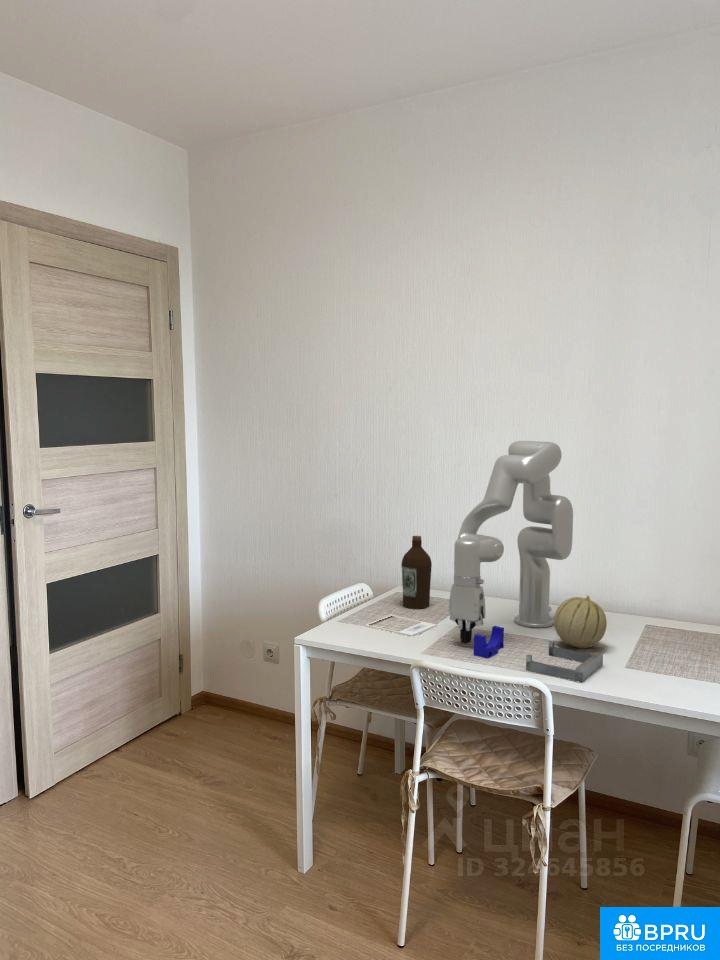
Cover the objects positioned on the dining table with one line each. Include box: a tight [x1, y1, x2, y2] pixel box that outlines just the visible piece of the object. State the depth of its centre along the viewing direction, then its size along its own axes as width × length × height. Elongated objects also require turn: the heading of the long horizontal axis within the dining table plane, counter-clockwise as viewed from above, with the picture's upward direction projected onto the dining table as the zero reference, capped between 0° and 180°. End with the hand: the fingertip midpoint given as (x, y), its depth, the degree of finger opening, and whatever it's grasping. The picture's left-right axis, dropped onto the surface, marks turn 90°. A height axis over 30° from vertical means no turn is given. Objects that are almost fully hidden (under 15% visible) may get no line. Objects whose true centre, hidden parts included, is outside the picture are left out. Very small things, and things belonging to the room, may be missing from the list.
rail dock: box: [525, 640, 604, 683], centre depth 195 cm, size 16×15×4 cm
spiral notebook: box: [364, 614, 438, 637], centre depth 234 cm, size 15×1×18 cm
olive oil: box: [400, 535, 433, 610], centre depth 258 cm, size 11×11×25 cm
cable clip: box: [473, 625, 505, 660], centre depth 209 cm, size 12×4×6 cm, turn 141°
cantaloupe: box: [553, 595, 608, 649], centre depth 213 cm, size 15×15×15 cm
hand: (465, 642), depth 214 cm, fingers closed
